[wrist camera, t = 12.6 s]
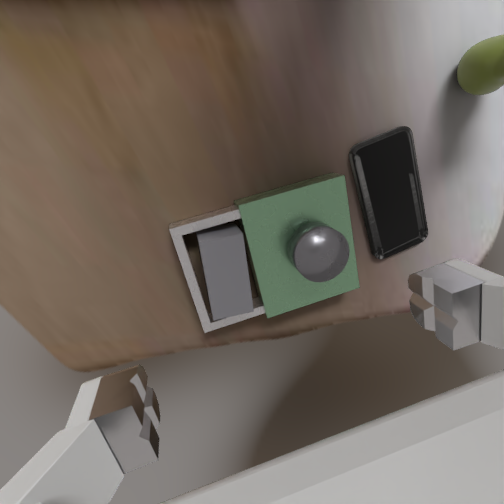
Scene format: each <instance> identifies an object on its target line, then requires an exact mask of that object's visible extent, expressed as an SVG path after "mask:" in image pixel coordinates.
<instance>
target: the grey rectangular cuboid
mask: <svg viewBox="0 0 504 504" xmlns="http://www.w3.org/2000/svg"><path fill="white" fill-rule="evenodd" d="M196 235H197V240H198V245H199V250H200V256H201V261H202V266H203V272H204V277H205V282H206V287H207V293H208V298H209V303H210V307H211V312H212V316H213V320H219V319H223V318H228V317H232V316H236V315H241V314H245V313H250V312H254V309H253V302H252V295H251V287H250V280H249V273H248V266H247V259H246V252H245V244H244V237H243V233H242V232H241V231H240V229H239V228H238V227H237V225H236V224H235V223H232V224H226V225H220V226H215V227H209V228H206V229H202V230H199V231H196Z"/></svg>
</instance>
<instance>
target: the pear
mask: <svg viewBox="0 0 504 504" xmlns="http://www.w3.org/2000/svg"><path fill="white" fill-rule="evenodd" d="M457 79H458V82H459V84H460V86H461V87H462V89H463V90H464V91H466V92H467V93H470V94H473V95H484V94H488V93H491V92H494V91H496V90H497V89H499V88H500V87H501V86H503V85H504V35H499V36H496V37H492V38H489V39H486V40H483V41H481V42H479V43H477V44H476V45H474V46H473V47H471V48H470V49H469V50H468V51H467V52H466V53H465V54H464V56H463V57H462V58H461V60H460V62H459V65H458V69H457Z"/></svg>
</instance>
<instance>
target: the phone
mask: <svg viewBox="0 0 504 504" xmlns="http://www.w3.org/2000/svg"><path fill="white" fill-rule="evenodd" d="M349 159H350V163H351V167H352V171H353V175H354V180H355V184H356V188H357V192H358V197H359V201H360V205H361V209H362V214H363V218H364V222H365V226H366V230H367V235H368V239H369V243H370V247H371V252H372V254H373V255H374V256H375V257H376V258H378V259H384V258H387V257H389V256H391V255H393V254H396V253H398V252H400V251H402V250H405V249H407V248H409V247H411V246H414V245H416V244H418V243H421V242H422V241H424V240H425V239H426V237H427V235H428V228H427V221H426V215H425V209H424V203H423V196H422V190H421V184H420V178H419V171H418V165H417V159H416V153H415V146H414V140H413V134H412V131H411V129H410V128H409V127H406V126H401V127H397V128H394V129H392V130H390V131H387V132H385V133H382V134H380V135H377V136H375V137H372V138H370V139H368V140H365V141H363V142H360V143H358V144H356V145H354V146H353V147H352V148H351V150H350V152H349Z"/></svg>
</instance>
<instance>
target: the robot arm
mask: <svg viewBox="0 0 504 504" xmlns="http://www.w3.org/2000/svg"><path fill="white" fill-rule="evenodd" d="M408 288H409V289H410V290H411V291H412V292H413V294H412V296H411V298H410V300H409V302H410V310H411V312H412V315H413V317H414V319H415V320H416V321H417V322H418V324H419V325H421V326H422V327H423V328H424V329H427V330H431V331H435V334H436V338H438V339H439V340H440V341H442V342H443V343H444V344H446V345H447V346H448V347H450V348H451V349H452V350H456V349H459V348H462V347H465V346H468V345H471V344H474V343H477V342H480V341H481V343H484V344H487V345H490V346H493V347H496V348H499V349H503V350H504V276H503V277H502V276H500V275H498V274H495V273H493V272H491V271H488V270H486V269H483V268H481V267H478V266H476V265H474V264H471V263H469V262H466V261H464V260H461V259H451V260H449V261H446V262H443V263H441V264H439V265H436V266H433V267H430V268H428V269H425V270H422V271H419V272H417V273H414V274H411V275H409V279H408ZM147 377H148V376H147V374H146V372H145V370H144V368H143V366H141V365H137V366H133V367H131V368H127V369H124V370H121V371H118V372H114V373H111V374H108V375H105V376H101V377H98V378H96V379H93V380H90V381H87V382H85V383H83V384H82V385H81V387H80V390H79V393H78V395H77V398H76V401H75V403H74V406H73V408H72V411H71V414H70V417H69V419H68V422H67V424H66V427H65V429H64V430H62V431H59V432H58V433H56V434H55V435H54V437H52V439H51V440H50V441H49V442H48V443H47V444H46V445H45V446H44V447H43V448H42V449H41V450H40V451H39V452H38V453H37V454H36V455H35V456H34V457H33V458H32V459H31V460H30V461H29V462H28V463H27V464H26V465H25V466H24V467H23V468H22V469H21V470H20V471H19V472H18V473H17V474H16V475H15V476H14V477H13V478H12V479H11V480H10V481H9V482H8V483H7V484H6V485H5V486H4V487H3V488H2V489H1V490H0V504H109V502H110V501H111V499H112V497H113V495H114V493H115V492H116V490H117V488H118V487H119V485H120V483H121V481H122V480H123V478H124V474H126V473H128V472H131V471H133V470H136V469H138V468H140V467H143V466H145V465H148V464H150V463H153V462H155V461H158V454H159V436H158V434H157V432H156V429H157V428H158V426H159V425H160V411H159V404H158V401H157V397H156V395H155V392H154V390H153V389H152V388H150V387H148V386H147ZM159 504H504V370H501V371H498V372H496V373H493V374H491V375H488V376H485V377H483V378H480V379H478V380H475V381H473V382H470V383H467V384H465V385H462V386H460V387H457V388H455V389H452V390H449V391H447V392H444V393H442V394H439V395H437V396H434V397H431V398H429V399H426V400H424V401H421V402H418V403H416V404H413V405H411V406H408V407H406V408H403V409H400V410H398V411H395V412H393V413H390V414H388V415H385V416H383V417H380V418H377V419H375V420H372V421H370V422H367V423H365V424H362V425H359V426H357V427H354V428H352V429H349V430H347V431H344V432H342V433H339V434H337V435H334V436H331V437H329V438H326V439H324V440H321V441H318V442H316V443H313V444H311V445H308V446H306V447H303V448H301V449H298V450H296V451H293V452H290V453H288V454H285V455H283V456H280V457H277V458H275V459H272V460H270V461H267V462H264V463H262V464H259V465H257V466H254V467H252V468H249V469H246V470H244V471H241V472H239V473H236V474H234V475H231V476H228V477H226V478H223V479H221V480H218V481H216V482H213V483H211V484H208V485H205V486H203V487H200V488H198V489H195V490H193V491H190V492H187V493H185V494H182V495H179V496H177V497H175V498H172V499H169V500H167V501H164V502H162V503H159Z"/></svg>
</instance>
